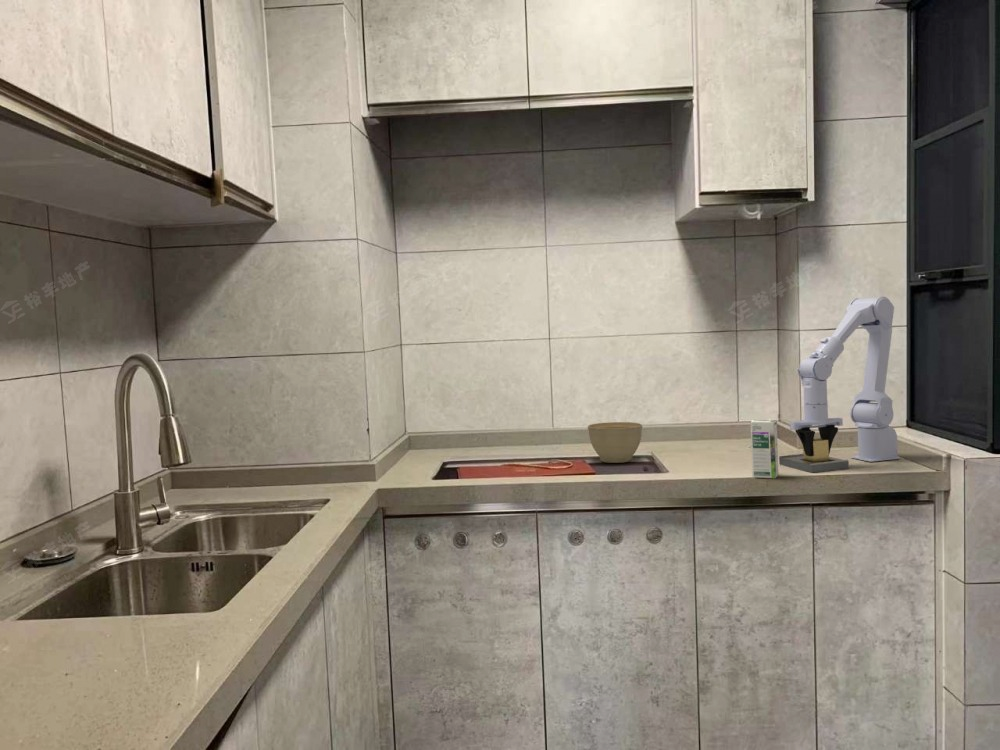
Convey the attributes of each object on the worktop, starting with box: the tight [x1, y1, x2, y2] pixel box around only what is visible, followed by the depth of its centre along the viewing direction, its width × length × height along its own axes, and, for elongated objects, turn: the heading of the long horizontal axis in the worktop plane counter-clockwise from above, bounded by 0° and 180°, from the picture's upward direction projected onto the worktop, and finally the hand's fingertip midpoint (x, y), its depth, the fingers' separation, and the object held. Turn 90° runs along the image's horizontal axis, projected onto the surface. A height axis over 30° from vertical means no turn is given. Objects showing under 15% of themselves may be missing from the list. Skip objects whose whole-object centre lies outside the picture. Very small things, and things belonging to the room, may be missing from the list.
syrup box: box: [749, 418, 780, 479], centre depth 196 cm, size 6×6×14 cm
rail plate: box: [778, 453, 850, 474], centre depth 205 cm, size 11×14×2 cm
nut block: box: [802, 437, 830, 463], centre depth 204 cm, size 4×4×6 cm
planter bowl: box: [587, 421, 643, 464], centre depth 231 cm, size 16×16×11 cm
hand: (817, 454), depth 203 cm, fingers closed on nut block, 4 cm apart
